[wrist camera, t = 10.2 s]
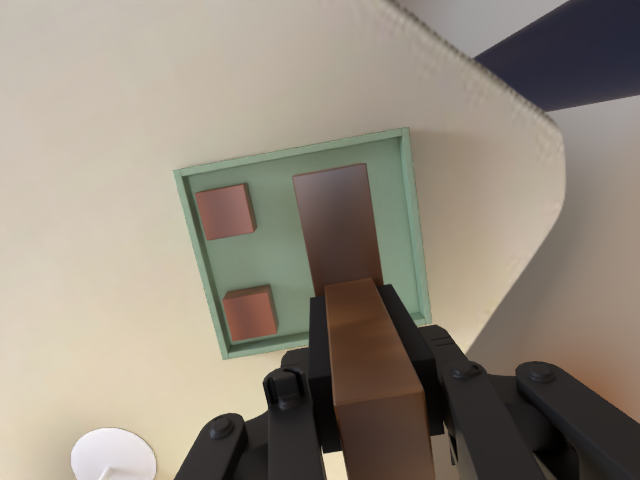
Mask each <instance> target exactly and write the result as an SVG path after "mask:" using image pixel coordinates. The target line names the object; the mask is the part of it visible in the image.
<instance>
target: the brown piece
mask: <svg viewBox="0 0 640 480" xmlns="http://www.w3.org/2000/svg"><path fill="white" fill-rule="evenodd" d="M292 180H293V185H294V190H295V195H296V200H297V205H298V211H299V216H300V221H301V226H302V231H303V237H304V242H305V247H306V252H307V257H308V262H309V268H310V273H311V278H312V283H313V288H314V293H315V297H317V296H323V295H325V301H326V314H327V327H328V340H329V353H330V366H331V379H332V392H333V405H334V411H335V416H336V421H337V426H338V431H339V436H340V441H341V446H342V452H343V457H344V462H345V467H346V472H347V477H348V480H435V479H436V478H435V470H434V462H433V454H432V446H431V438H430V430H429V423H428V415H427V407H426V399H425V392H424V389H423V386H422V384H421V382H420V380H419V378H418V376H417V374H416V371H415V369H414V367H413V365H412V363H411V361H410V359H409V356H408V354H407V352H406V350H405V348H404V346H403V343H402V341H401V339H400V337H399V335H398V333H397V331H396V328H395V326H394V324H393V322H392V320H391V318H390V316H389V313H388V311H387V309H386V307H385V305H384V303H383V301H382V298H381V296H380V294H379V292H378V290H377V288H376V286H380V285H384V280H383V273H382V267H381V260H380V253H379V246H378V239H377V233H376V226H375V219H374V212H373V205H372V198H371V192H370V185H369V178H368V171H367V164H366V163H363V162H359V163H353V164H348V165H342V166H337V167H331V168H326V169H320V170H315V171H309V172H304V173H298V174H294V175H293V176H292Z"/></svg>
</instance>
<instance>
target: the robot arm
mask: <svg viewBox="0 0 640 480" xmlns="http://www.w3.org/2000/svg"><path fill="white" fill-rule="evenodd" d="M376 288H377V290H378V292H379V294H380V296H381V298H382V301H383V303H384V305H385V307H386V309H387V311H388V313H389V316H390V318H391V320H392V322H393V324H394V326H395V328H396V331H397V333H398V335H399V337H400V339H401V341H402V343H403V346H404V348H405V350H406V352H407V354H408V356H409V359H410V361H411V363H412V365H413V367H414V369H415V371H416V374H417V376H418V378H419V380H420V382H421V384H422V386H423V389H424V392H425V399H426V407H427V415H428V423H429V430H430V436H434V435H441V434H444V425H443V421H444V423H445V425H446V427H447V429H448V436H449V445H450V453H451V462H452V465H456V468H457V471H458V475H459V478H460V480H640V424H639V423H637V422H636V421H635V420H633V419H632V418H630V417H629V416H627V415H626V414H625V413H623V412H622V411H620V410H619V409H618V408H616V407H615V406H613V405H612V404H610V403H609V402H608V401H606V400H605V399H603V398H602V397H600V396H599V395H598V394H597V393H595V392H594V391H592V390H591V389H589V388H588V387H587V386H585V385H584V384H582V383H581V382H580V381H578V380H577V379H575V378H574V377H573V376H571V375H570V374H568V373H567V372H565V371H564V370H563V369H561V368H559V367H557V366H555V365H553V364H549V363H546V362H540V361H539V362H538V361H532V362H525V363H523V364H520V365H519V366H518V367H517V368H516V376H499V375H491V374H487V372H486V370H485V369H484V368H483V367H482V366H481V365H479V364H477V363H475V362H472V361H469V360H468V359H467V357H466V356H465V355H464V353H463V352H462V351H461V349H460V348H459V347H458V345H457V344H455V341H454V340H453V339H452V338H451V336H450V335H449V333H448V332H447V331H446V330H445V329H443V328H442V327H440V326H438V325H430V326H424V327H418V328H417V326H416V324H415V323H414V321H413V319H412V318H411V316H410V314H409V313H408V311H407V309H406V307H405V306H404V304H403V302H402V301H401V299H400V297H399V296H398V294H397V292H396V291H395V289H394V287H393V286H392V284H386V285H380V286H376ZM263 387H264V391H265V396H266V400H267V404H268V410H267V411H266V412H265V413H263V414H262V415H260V416H258V417H256V418H253V419H251V420H248V421H246V422H244V420H243V418H242V416H240V415H239V414H236V413H228V414H223V415H220V416H218V417H216V418H214V419H212V420H211V421H209V422H208V423H207V424H206V425H205V426H204V427H203V429H202V430H201V431H200V433H199V435H198V437H197V439H196V440H195V442H194V444H193V446H192V448H191V449H190V451H189V453H188V455H187V457H186V458H185V460H184V462H183V464H182V466H181V467H180V469H179V471H178V473H177V475H176V477H175V478H174V480H327V477H326V472H325V467H324V462H323V457H322V450H323V454H325V453H331V452H337V451H342V446H341V441H340V436H339V431H338V426H337V421H336V416H335V411H334V405H333V392H332V379H331V366H330V353H329V340H328V327H327V314H326V301H325V295H323V296H317V297H311V298H310V315H309V347H307V348H301V349H295V350H290V351H287V353H286V354H285V355H284V356H283V358H282V360H281V368H278V369H275V370H274V371H272V372H270V373H269V374H268V375H267V376H266V377H265V378H264V381H263ZM321 445H322V449H321Z"/></svg>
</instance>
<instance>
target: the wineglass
mask: <svg viewBox="0 0 640 480" xmlns="http://www.w3.org/2000/svg"><path fill="white" fill-rule="evenodd" d="M71 467H72V470H73V472H74V474H75V476H76V478H77V479H78V480H153V479H154V476H155V474H156V459H155V456H154V454H153V452H152V449H151V448H150V447H149V446H148V445H147V444H146V442H145V441H144V440H143V439H141V438H140V437H138V436H137V435H135V434H133V433H132V432H129V431H125V430H122V429H119V428H101V429H97V430H93V431H91V432H89V433H87V434H85V435H84V436H82V437H81V438H80V439H79V440H78V442H77V443H76V444H75V445H74V447H73V450H72V453H71Z"/></svg>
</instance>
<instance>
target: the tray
mask: <svg viewBox="0 0 640 480" xmlns="http://www.w3.org/2000/svg"><path fill="white" fill-rule="evenodd" d="M359 162H363V163H366V164H367V171H368V178H369V185H370V192H371V198H372V205H373V212H374V219H375V226H376V233H377V239H378V246H379V253H380V260H381V267H382V273H383V280H384V285H386V284H392V286H393V287H394V289H395V291H396V292H397V294H398V296H399V297H400V299H401V301H402V302H403V304H404V306H405V307H406V309H407V311H408V313H409V314H410V316H411V318H412V319H413V321H414V323H415V324H416V326H419V325H425V324H431V323H432V318H431V310H430V301H429V293H428V285H427V276H426V268H425V260H424V251H423V243H422V235H421V226H420V218H419V210H418V201H417V193H416V185H415V176H414V168H413V160H412V151H411V143H410V135H409V128H408V127H405V128H400V129H394V130H389V131H383V132H378V133H373V134H367V135H362V136H356V137H351V138H346V139H340V140H335V141H329V142H324V143H319V144H313V145H308V146H302V147H297V148H292V149H286V150H281V151H275V152H270V153H265V154H259V155H254V156H248V157H243V158H237V159H232V160H227V161H221V162H216V163H210V164H205V165H200V166H194V167H189V168H183V169H178V170H173V174H174V178H175V181H176V185H177V189H178V193H179V196H180V200H181V204H182V208H183V211H184V215H185V219H186V223H187V226H188V230H189V234H190V238H191V242H192V245H193V249H194V253H195V257H196V260H197V264H198V268H199V272H200V275H201V279H202V283H203V287H204V290H205V294H206V298H207V302H208V305H209V309H210V313H211V317H212V320H213V324H214V328H215V332H216V336H217V339H218V343H219V347H220V351H221V354H222V358H223V360H227V359H232V358H238V357H244V356H249V355H255V354H261V353H266V352H272V351H278V350H283V349H289V348H295V347H300V346H306V345H309V315H310V298H311V297H315V293H314V288H313V283H312V278H311V273H310V268H309V262H308V257H307V252H306V247H305V242H304V237H303V231H302V226H301V221H300V216H299V211H298V205H297V200H296V195H295V190H294V185H293V180H292V176H293V175H294V174H298V173H304V172H309V171H315V170H320V169H326V168H331V167H337V166H342V165H348V164H353V163H359ZM242 183H248V188H249V192H250V196H251V201H252V205H253V210H254V214H255V219H256V223H257V229H256V230H255V231H254V232H253V233H248V234H242V235H237V236H231V237H226V238H220V239H215V240H209V241H207V239H206V235H205V231H204V228H203V224H202V220H201V216H200V212H199V208H198V204H197V200H196V196H195V193H197V192H200V191H204V190H209V189H215V188H220V187H226V186H231V185H237V184H242ZM268 284H270V286H271V291H272V295H273V300H274V304H275V309H276V313H277V318H278V322H279V325H278V331H277V334H273V335H267V336H262V337H256V338H250V339H245V340H239V341H232V337H231V333H230V329H229V325H228V321H227V318H226V314H225V310H224V306H223V302H222V300H223V298H224V296H225V295H226V293H227V292H229V291H235V290H240V289H246V288H252V287H257V286H263V285H268Z"/></svg>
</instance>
